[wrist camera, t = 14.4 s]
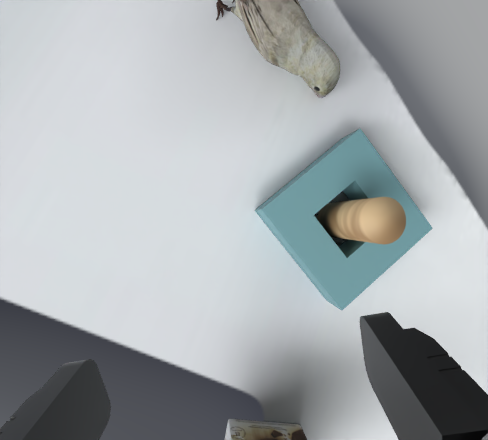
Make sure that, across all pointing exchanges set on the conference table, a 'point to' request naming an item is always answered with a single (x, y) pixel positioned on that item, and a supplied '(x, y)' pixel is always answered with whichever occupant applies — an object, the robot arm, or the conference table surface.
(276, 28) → the decorative bird
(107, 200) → the conference table surface
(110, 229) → the conference table surface
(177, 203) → the conference table surface
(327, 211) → the peg
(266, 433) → the coffee box
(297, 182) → the socket block
